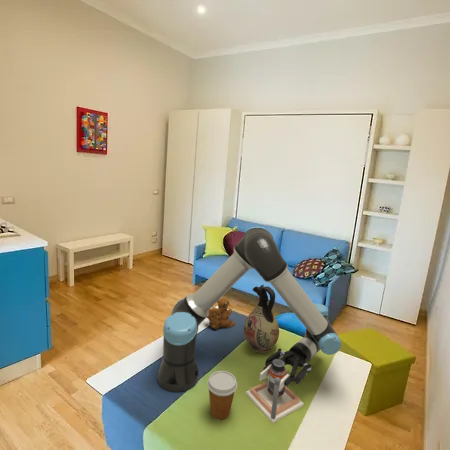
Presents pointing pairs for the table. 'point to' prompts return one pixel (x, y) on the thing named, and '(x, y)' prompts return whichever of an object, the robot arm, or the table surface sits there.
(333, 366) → the table surface
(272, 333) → the ceramic jug
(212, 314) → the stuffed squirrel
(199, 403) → the table surface
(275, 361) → the supplement bottle
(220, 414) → the disposable coffee cup
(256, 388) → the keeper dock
